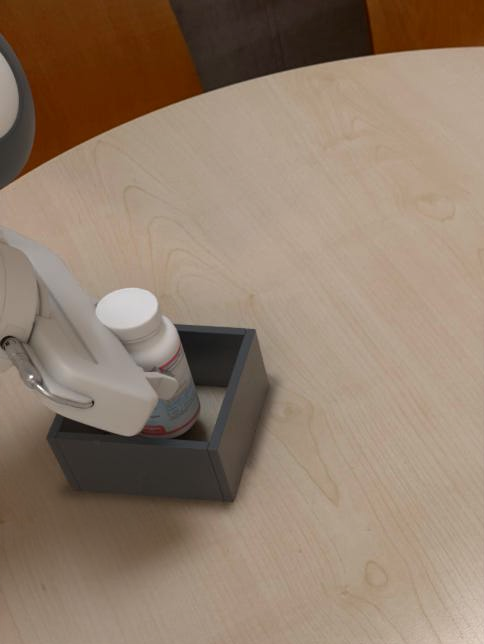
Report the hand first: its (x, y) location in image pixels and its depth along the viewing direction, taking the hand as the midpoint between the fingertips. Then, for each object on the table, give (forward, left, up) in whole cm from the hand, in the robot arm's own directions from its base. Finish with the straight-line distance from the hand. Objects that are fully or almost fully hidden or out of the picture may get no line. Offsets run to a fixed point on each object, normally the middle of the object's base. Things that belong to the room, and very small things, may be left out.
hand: (152, 358), depth 83 cm
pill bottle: (0, 0, -6) cm, 6 cm away
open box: (0, 0, -10) cm, 10 cm away
